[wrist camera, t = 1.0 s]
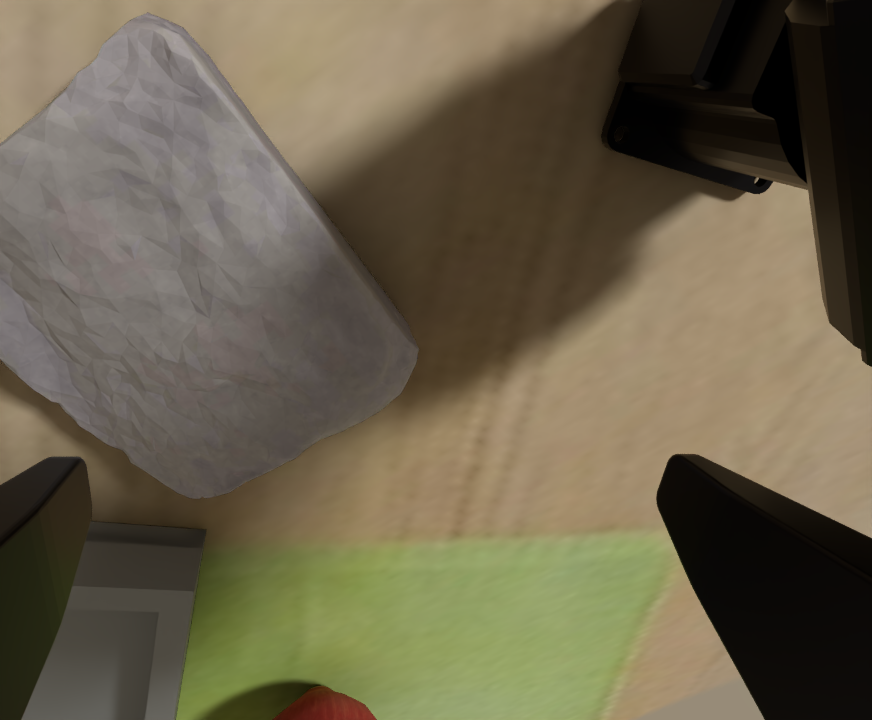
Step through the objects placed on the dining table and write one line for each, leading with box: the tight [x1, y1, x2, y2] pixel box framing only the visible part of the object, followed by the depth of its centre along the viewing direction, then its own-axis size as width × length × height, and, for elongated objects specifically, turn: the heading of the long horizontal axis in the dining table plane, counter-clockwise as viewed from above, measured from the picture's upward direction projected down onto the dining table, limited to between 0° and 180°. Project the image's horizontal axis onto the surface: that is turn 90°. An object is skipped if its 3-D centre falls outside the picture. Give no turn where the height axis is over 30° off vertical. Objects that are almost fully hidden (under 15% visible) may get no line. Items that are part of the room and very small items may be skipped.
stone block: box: [0, 13, 419, 499], centre depth 18 cm, size 12×5×10 cm
